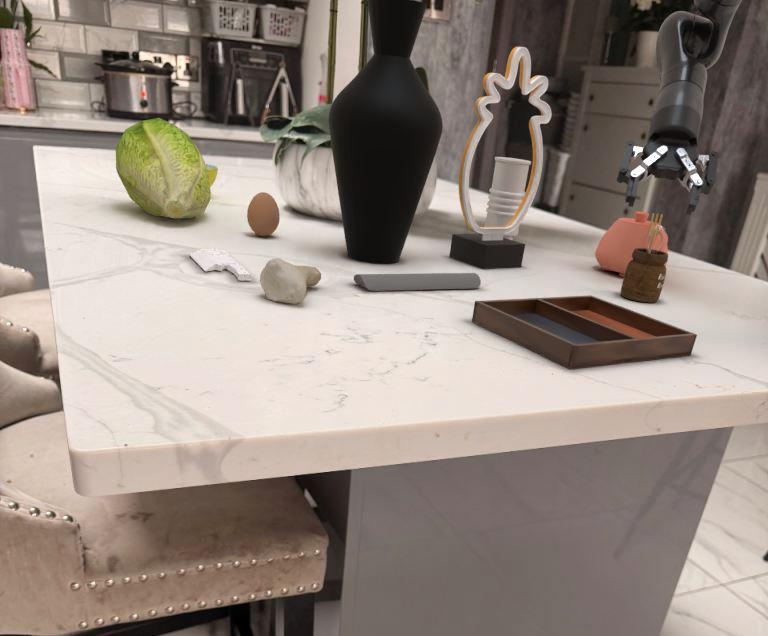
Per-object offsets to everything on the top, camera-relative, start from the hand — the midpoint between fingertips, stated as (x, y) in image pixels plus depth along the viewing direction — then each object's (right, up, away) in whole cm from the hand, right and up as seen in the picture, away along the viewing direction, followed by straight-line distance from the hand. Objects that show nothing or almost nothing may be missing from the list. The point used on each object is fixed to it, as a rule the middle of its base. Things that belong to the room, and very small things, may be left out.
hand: (660, 207), depth 116 cm
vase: (-44, -5, +8) cm, 45 cm away
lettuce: (-81, +7, +22) cm, 85 cm away
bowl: (-83, +20, +45) cm, 96 cm away
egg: (-63, +1, +15) cm, 64 cm away
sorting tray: (-18, -25, -22) cm, 37 cm away
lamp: (-25, -4, +15) cm, 29 cm away
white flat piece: (-65, -12, -9) cm, 67 cm away
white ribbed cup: (-20, +6, +33) cm, 39 cm away
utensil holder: (-2, -13, +2) cm, 14 cm away
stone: (-53, -19, -17) cm, 59 cm away
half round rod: (-37, -14, -6) cm, 40 cm away
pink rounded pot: (+1, -4, +19) cm, 20 cm away
